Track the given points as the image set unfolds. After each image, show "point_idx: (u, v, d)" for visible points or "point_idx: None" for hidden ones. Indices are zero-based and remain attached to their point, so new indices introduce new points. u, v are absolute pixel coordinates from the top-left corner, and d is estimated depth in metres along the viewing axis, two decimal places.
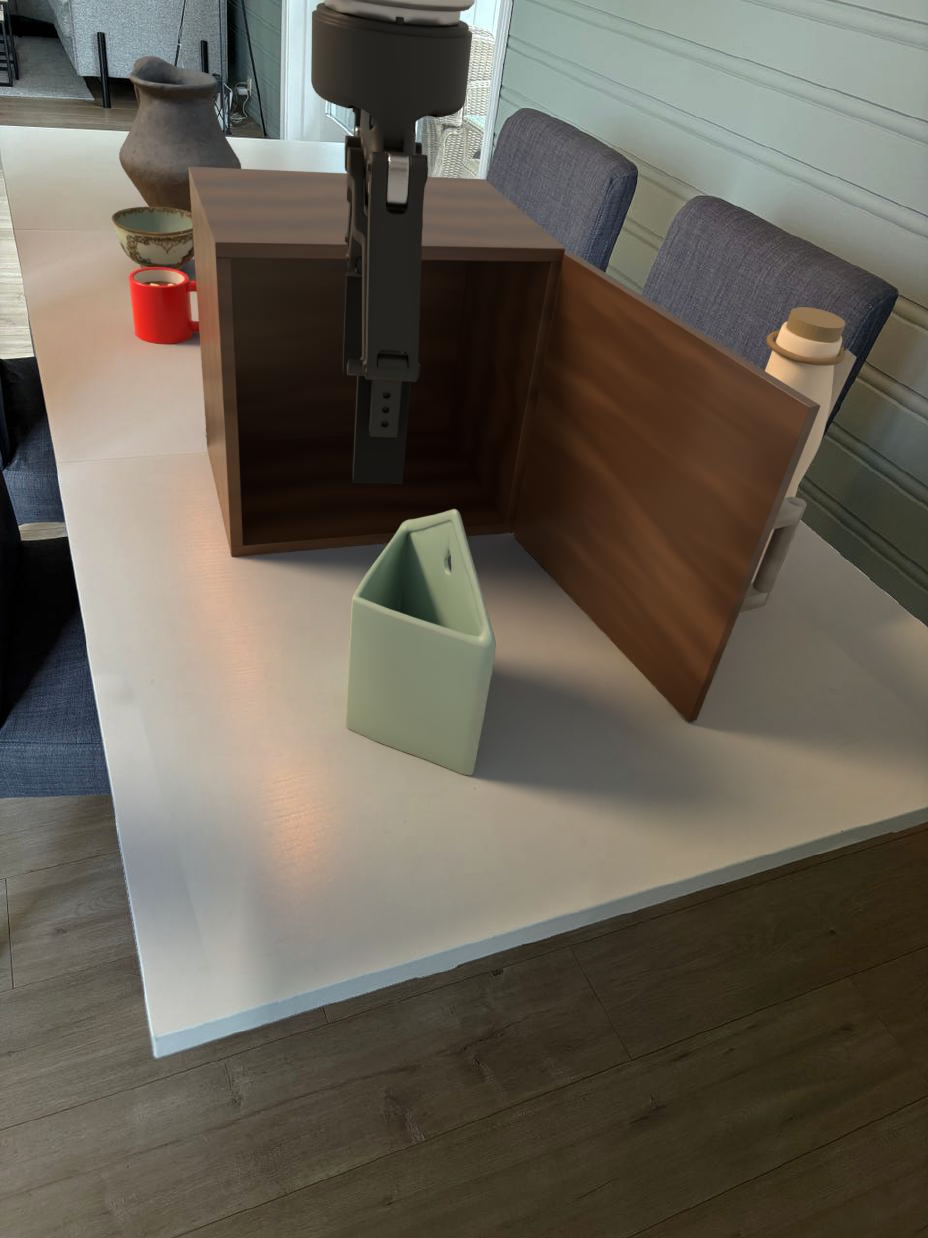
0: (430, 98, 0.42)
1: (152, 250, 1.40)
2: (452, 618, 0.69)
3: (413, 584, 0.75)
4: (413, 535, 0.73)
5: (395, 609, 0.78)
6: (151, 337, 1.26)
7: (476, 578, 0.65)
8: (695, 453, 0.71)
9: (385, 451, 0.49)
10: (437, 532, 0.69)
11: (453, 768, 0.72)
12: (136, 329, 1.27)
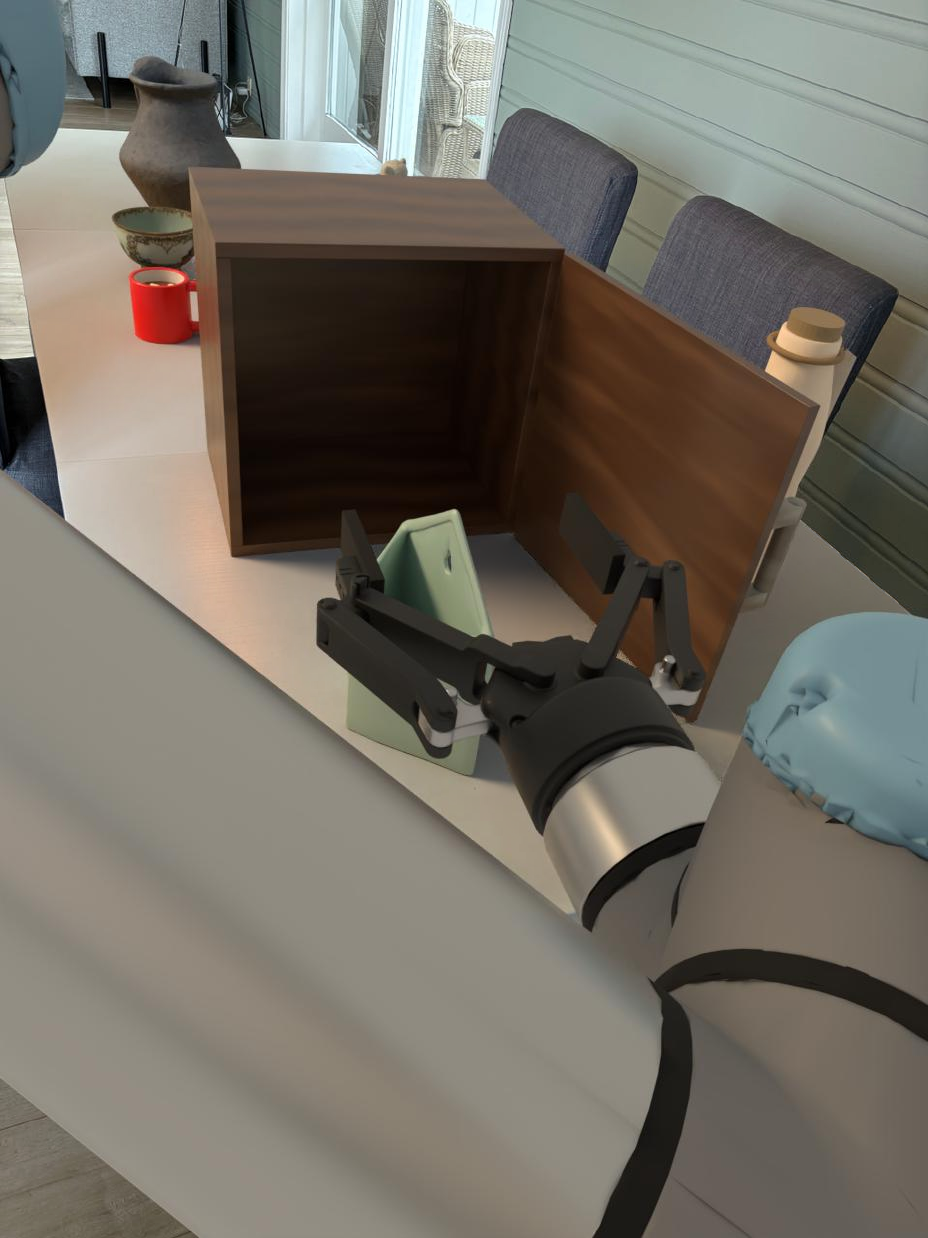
0: None
1: (152, 250, 1.40)
2: (452, 618, 0.69)
3: (413, 584, 0.75)
4: (413, 535, 0.73)
5: None
6: (151, 337, 1.26)
7: (476, 578, 0.65)
8: (695, 453, 0.71)
9: (349, 555, 0.50)
10: (437, 532, 0.69)
11: (453, 768, 0.72)
12: (136, 329, 1.27)
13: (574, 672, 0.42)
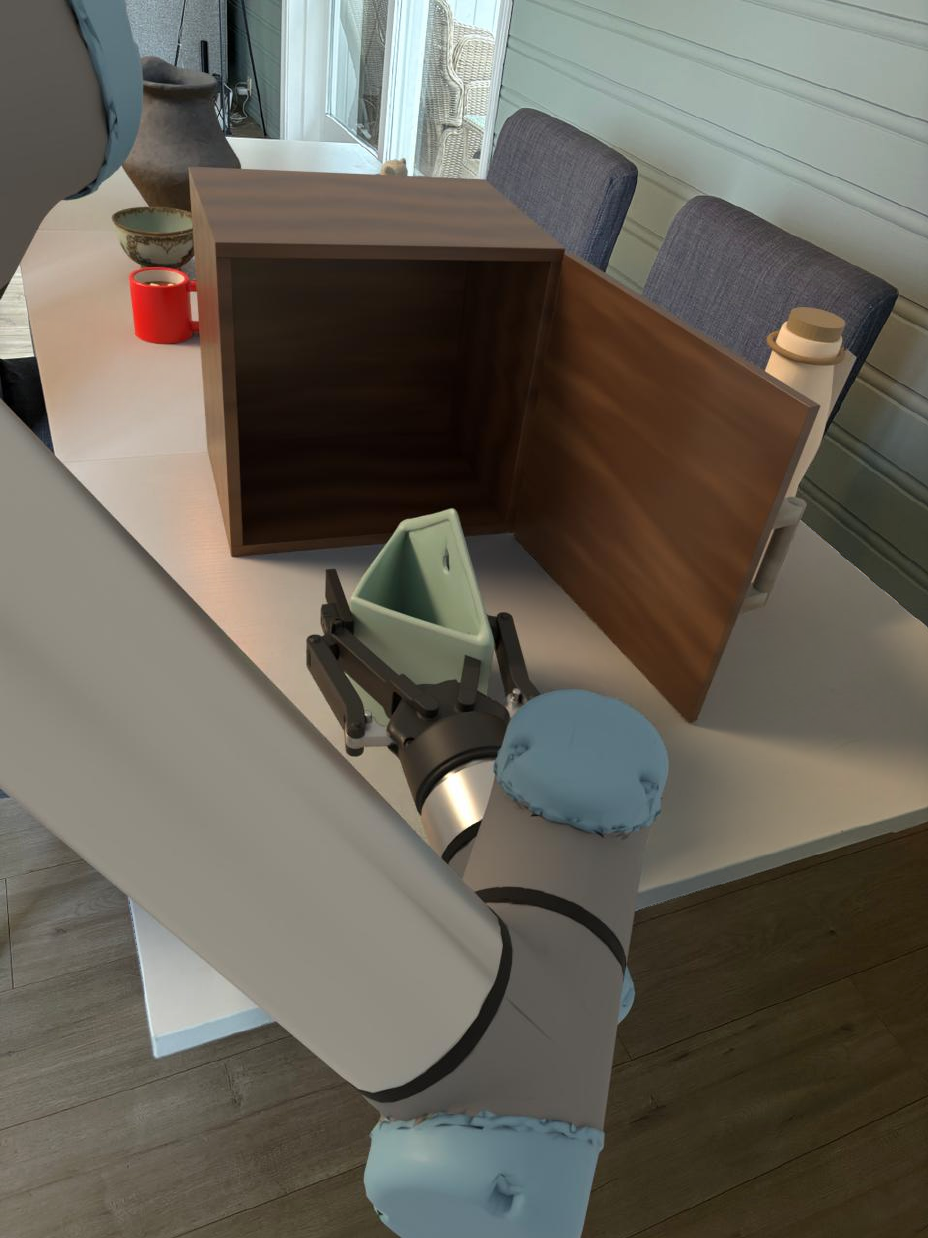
0: None
1: (152, 250, 1.40)
2: (451, 617, 0.69)
3: (412, 583, 0.75)
4: (412, 534, 0.73)
5: (394, 609, 0.78)
6: (151, 337, 1.26)
7: (474, 577, 0.64)
8: (695, 453, 0.71)
9: (330, 601, 0.70)
10: (435, 531, 0.69)
11: None
12: (136, 329, 1.27)
13: (454, 706, 0.61)
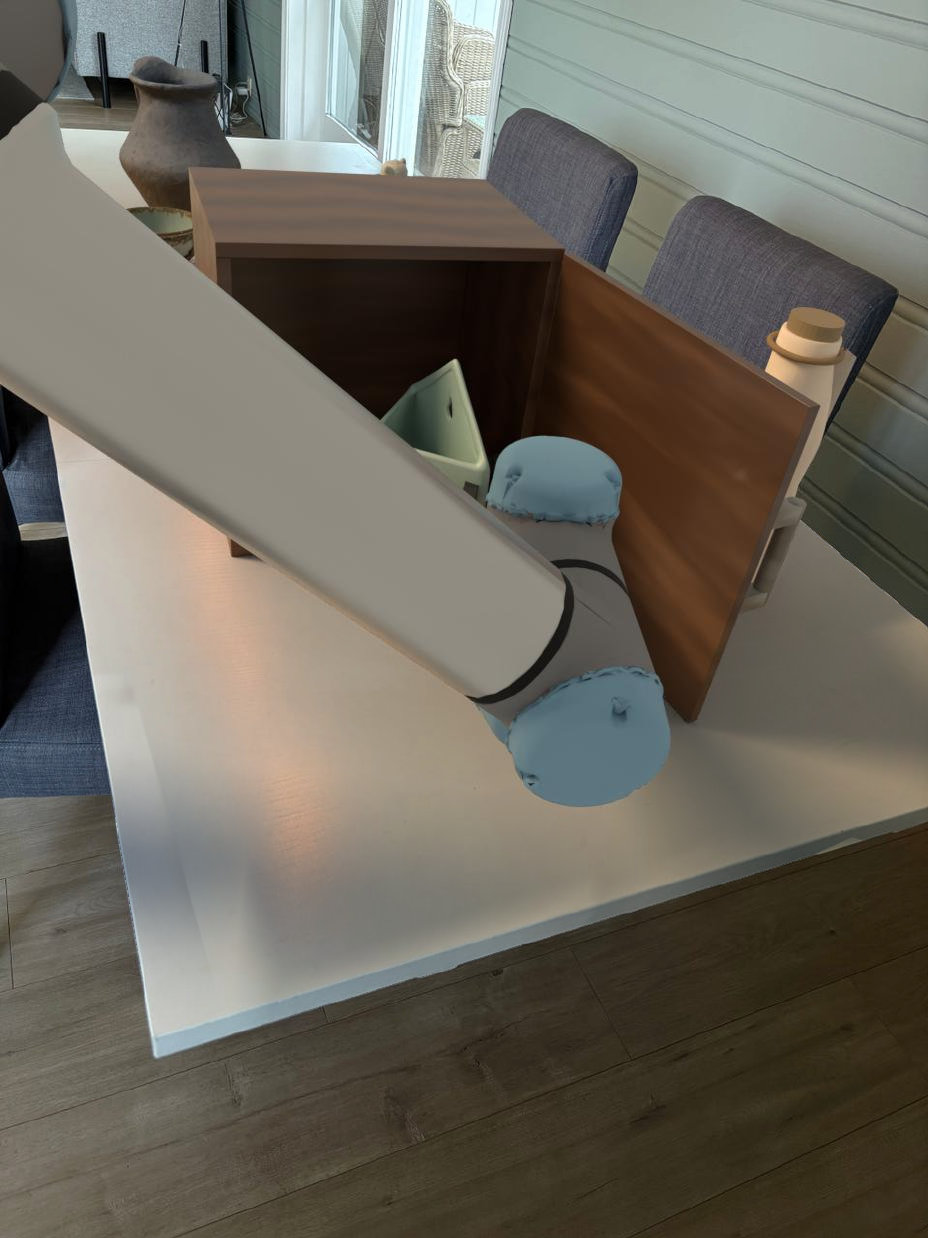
0: None
1: None
2: (453, 458, 0.81)
3: (420, 440, 0.87)
4: (420, 395, 0.85)
5: None
6: None
7: (473, 415, 0.76)
8: (695, 453, 0.71)
9: None
10: (440, 384, 0.81)
11: None
12: None
13: None
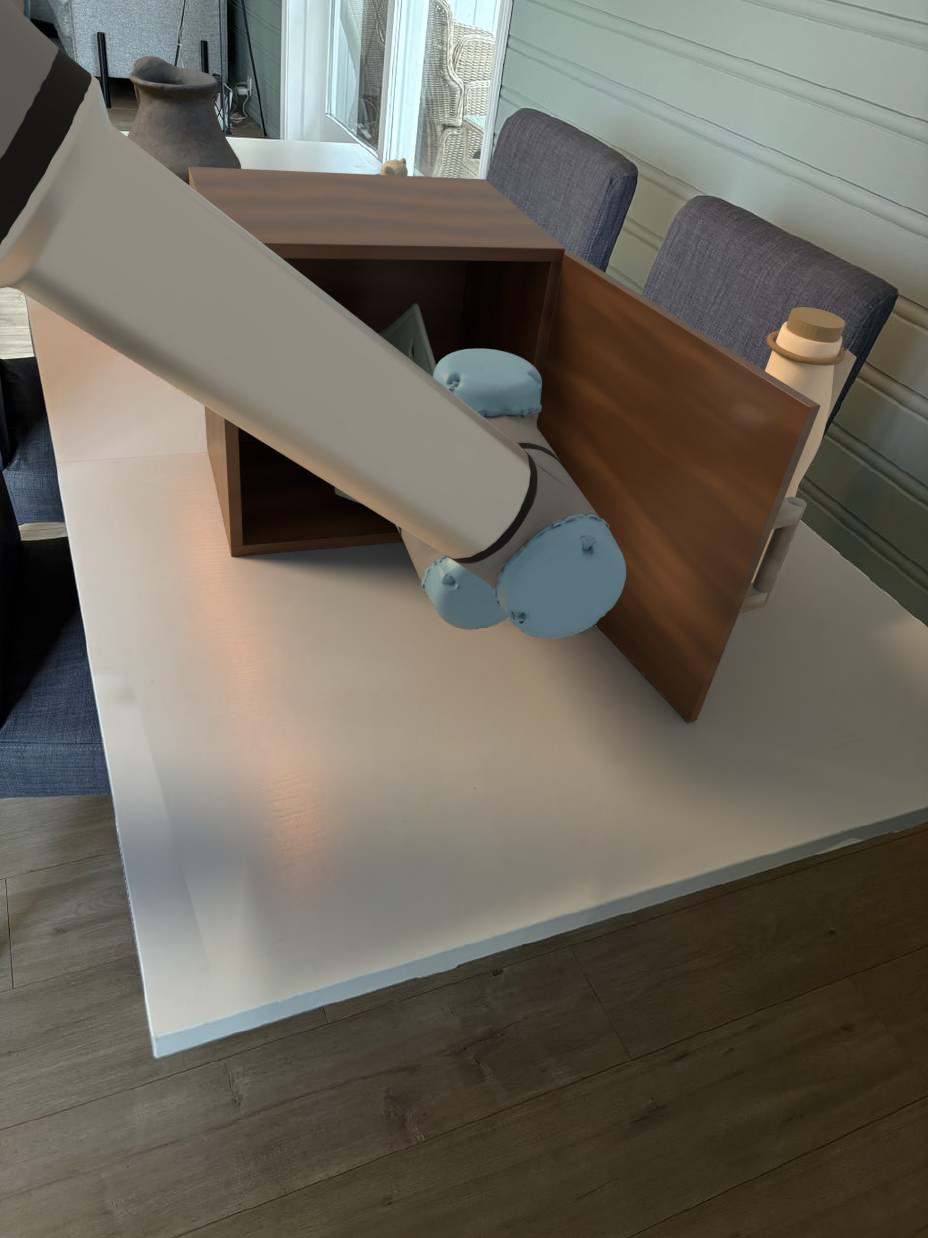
0: None
1: None
2: None
3: None
4: (387, 340, 0.94)
5: None
6: None
7: (431, 353, 0.85)
8: (695, 453, 0.71)
9: None
10: (403, 328, 0.90)
11: None
12: None
13: None
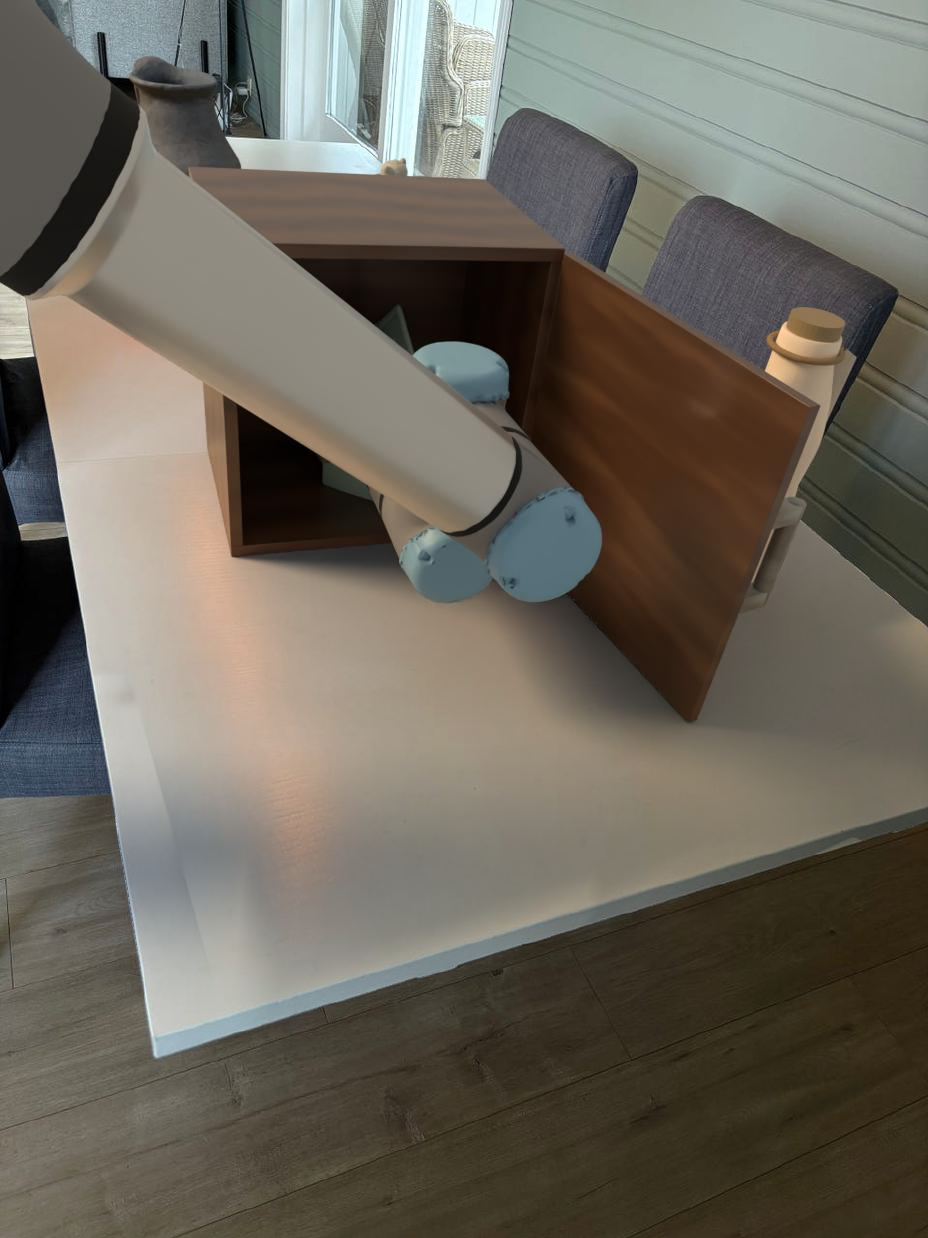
0: None
1: None
2: None
3: None
4: None
5: None
6: None
7: (412, 351, 0.91)
8: (695, 453, 0.71)
9: None
10: (387, 327, 0.95)
11: None
12: None
13: None
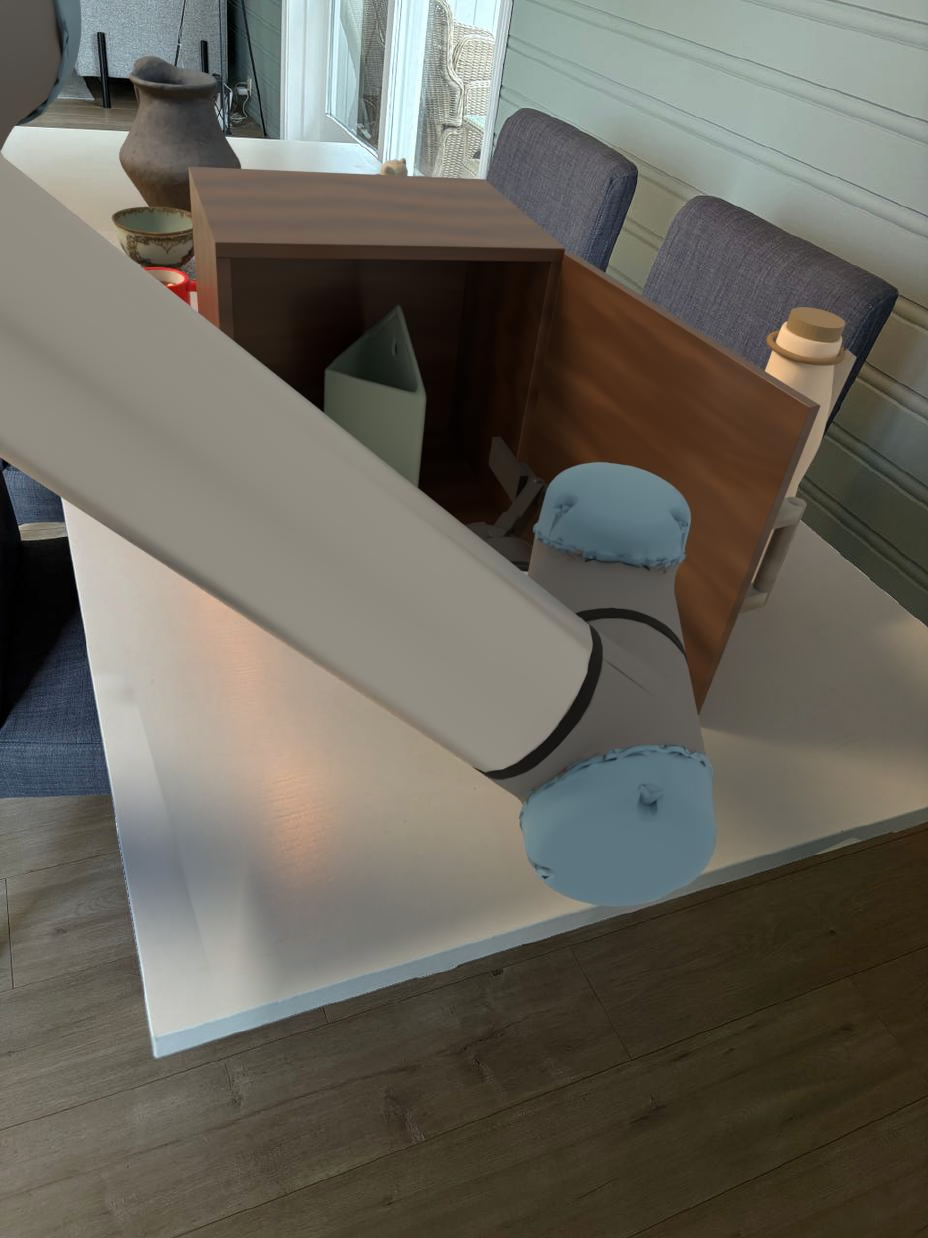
0: None
1: (152, 250, 1.40)
2: None
3: (372, 379, 1.02)
4: (372, 339, 1.00)
5: None
6: None
7: (412, 351, 0.91)
8: (695, 453, 0.71)
9: None
10: (387, 327, 0.95)
11: None
12: None
13: None
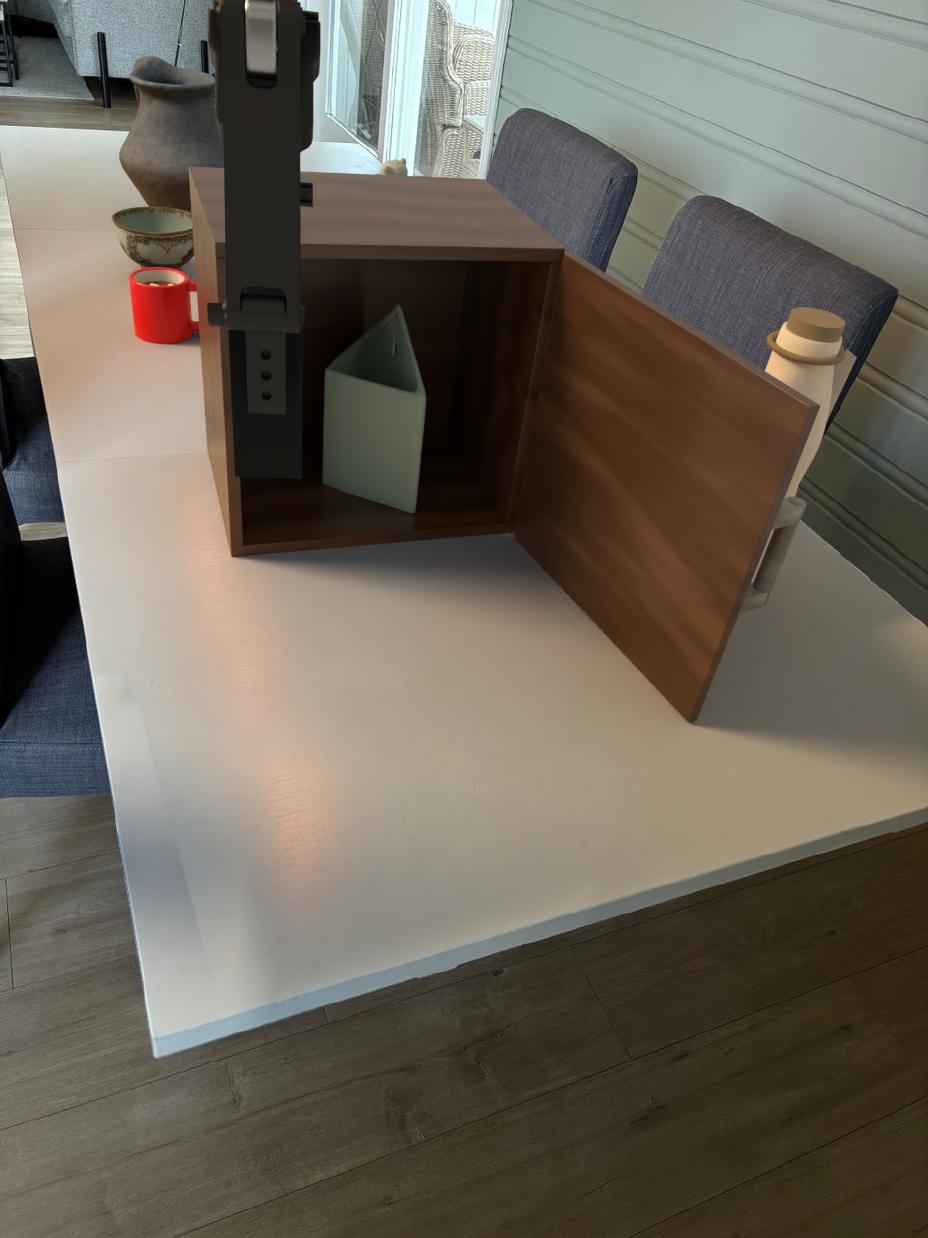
0: None
1: (152, 250, 1.40)
2: None
3: (372, 379, 1.02)
4: (372, 339, 1.00)
5: None
6: (151, 337, 1.26)
7: (412, 351, 0.91)
8: (695, 453, 0.71)
9: (274, 434, 0.36)
10: (387, 327, 0.95)
11: (400, 507, 0.98)
12: (136, 329, 1.27)
13: None
